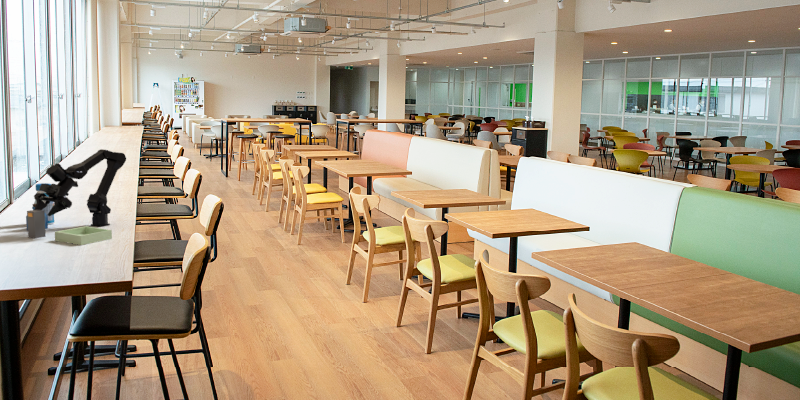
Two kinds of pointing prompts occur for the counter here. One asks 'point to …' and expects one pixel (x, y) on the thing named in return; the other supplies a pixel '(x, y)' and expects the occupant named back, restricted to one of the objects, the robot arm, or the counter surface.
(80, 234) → the pale green tray
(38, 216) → the grey square pillar
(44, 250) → the counter surface
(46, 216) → the perfume bottle
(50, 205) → the beverage bottle
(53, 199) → the robot arm
